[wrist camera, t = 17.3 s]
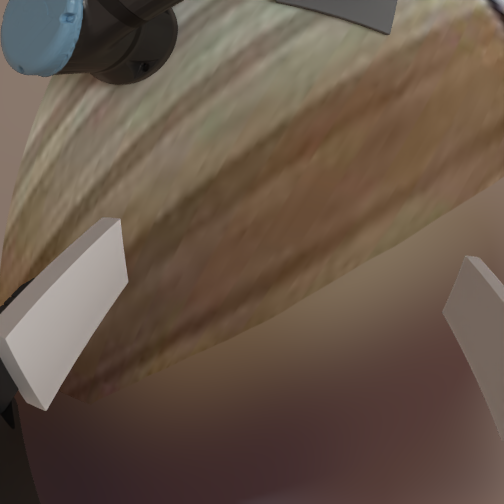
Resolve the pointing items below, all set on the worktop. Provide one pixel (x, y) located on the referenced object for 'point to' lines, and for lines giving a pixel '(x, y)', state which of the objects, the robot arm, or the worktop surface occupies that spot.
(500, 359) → the robot arm
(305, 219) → the worktop surface
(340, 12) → the charcoal mat
